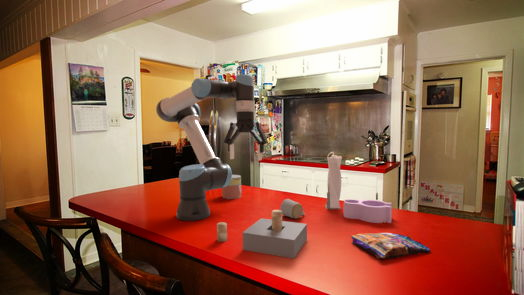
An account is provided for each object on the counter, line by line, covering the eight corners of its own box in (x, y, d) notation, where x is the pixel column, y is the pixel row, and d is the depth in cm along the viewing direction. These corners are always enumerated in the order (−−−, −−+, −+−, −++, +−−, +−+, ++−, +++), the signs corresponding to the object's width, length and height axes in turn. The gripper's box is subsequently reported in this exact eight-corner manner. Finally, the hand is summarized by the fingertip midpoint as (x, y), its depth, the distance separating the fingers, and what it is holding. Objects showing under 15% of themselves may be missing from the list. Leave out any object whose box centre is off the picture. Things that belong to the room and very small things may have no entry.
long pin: (270, 246, 103) (270, 212, 102) (274, 242, 106) (273, 209, 105) (280, 247, 101) (280, 213, 100) (283, 243, 104) (283, 210, 103)
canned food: (240, 198, 168) (240, 178, 167) (220, 199, 168) (220, 178, 167) (242, 194, 179) (241, 174, 178) (223, 194, 179) (223, 174, 178)
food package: (342, 241, 107) (342, 230, 107) (398, 233, 115) (399, 223, 114) (384, 270, 86) (384, 255, 86) (449, 258, 94) (450, 245, 94)
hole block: (242, 249, 100) (242, 232, 99) (261, 233, 114) (261, 218, 114) (294, 258, 93) (294, 240, 92) (306, 240, 108) (306, 223, 107)
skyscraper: (323, 205, 154) (324, 151, 152) (339, 205, 154) (340, 151, 152) (326, 209, 146) (327, 153, 144) (343, 209, 146) (344, 153, 143)
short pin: (215, 240, 108) (214, 224, 107) (220, 237, 111) (220, 221, 110) (223, 242, 106) (223, 226, 106) (228, 238, 110) (228, 223, 109)
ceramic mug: (292, 221, 129) (292, 203, 128) (279, 216, 135) (280, 200, 134) (308, 216, 135) (309, 199, 135) (296, 212, 142) (296, 196, 141)
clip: (342, 219, 131) (342, 204, 130) (346, 211, 142) (346, 197, 142) (391, 225, 123) (391, 208, 122) (391, 216, 134) (391, 201, 134)
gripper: (215, 111, 130) (216, 159, 132) (268, 109, 120) (269, 161, 122) (224, 112, 137) (225, 157, 138) (274, 110, 127) (275, 159, 129)
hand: (245, 159), depth 130 cm, fingers open, 13 cm apart
